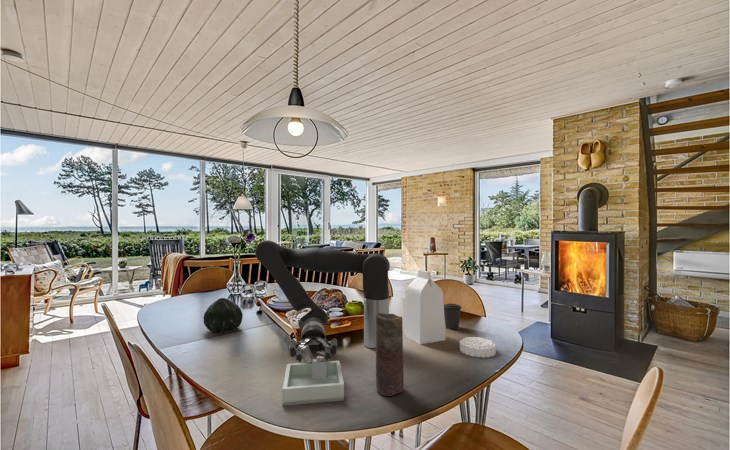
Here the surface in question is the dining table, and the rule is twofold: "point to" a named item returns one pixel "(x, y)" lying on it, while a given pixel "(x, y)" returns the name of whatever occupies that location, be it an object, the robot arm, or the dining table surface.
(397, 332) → the candle
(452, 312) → the coffee cup
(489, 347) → the mooncake
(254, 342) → the dining table surface
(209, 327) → the squash
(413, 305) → the milk
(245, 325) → the dining table surface
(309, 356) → the lighter
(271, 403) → the dining table surface
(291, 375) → the bin
